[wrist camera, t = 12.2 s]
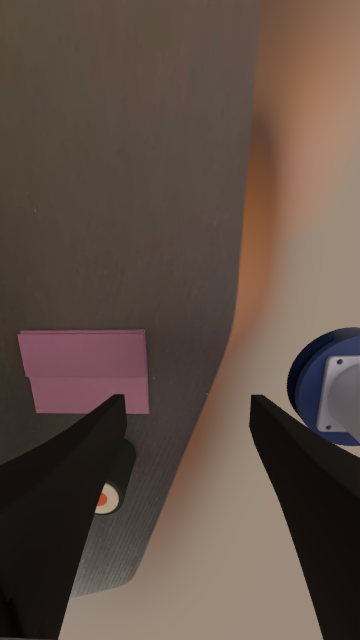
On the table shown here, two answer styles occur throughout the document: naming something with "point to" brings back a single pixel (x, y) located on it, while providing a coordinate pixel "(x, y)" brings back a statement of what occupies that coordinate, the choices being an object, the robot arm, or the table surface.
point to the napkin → (85, 368)
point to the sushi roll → (117, 481)
